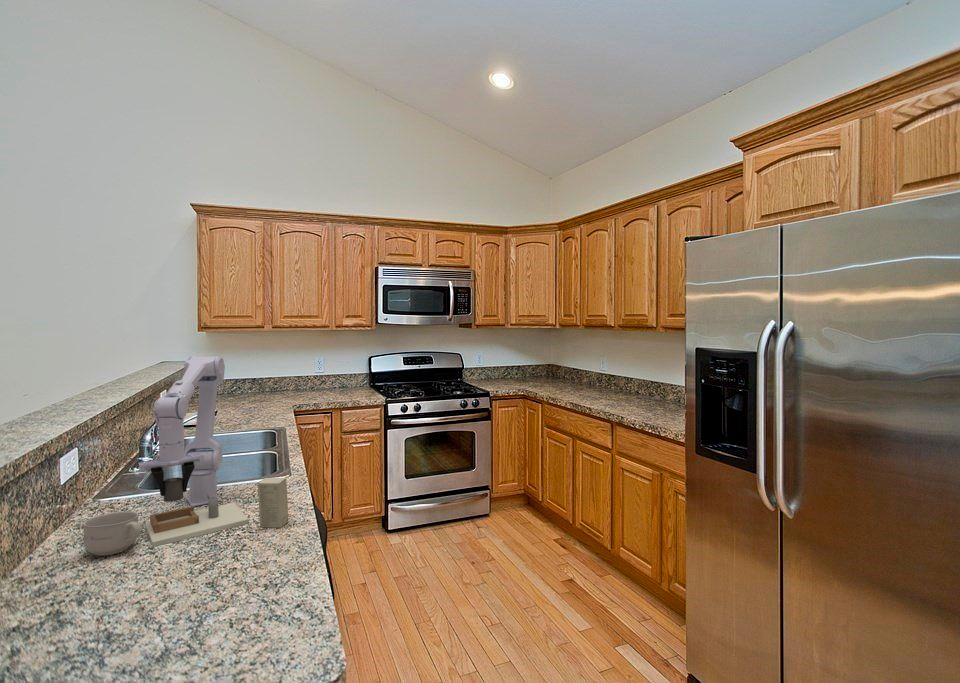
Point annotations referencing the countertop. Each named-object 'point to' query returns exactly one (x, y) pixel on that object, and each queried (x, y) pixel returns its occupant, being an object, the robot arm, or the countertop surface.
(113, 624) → the countertop surface
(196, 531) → the board
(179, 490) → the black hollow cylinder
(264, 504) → the skincare box
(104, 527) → the teacup
